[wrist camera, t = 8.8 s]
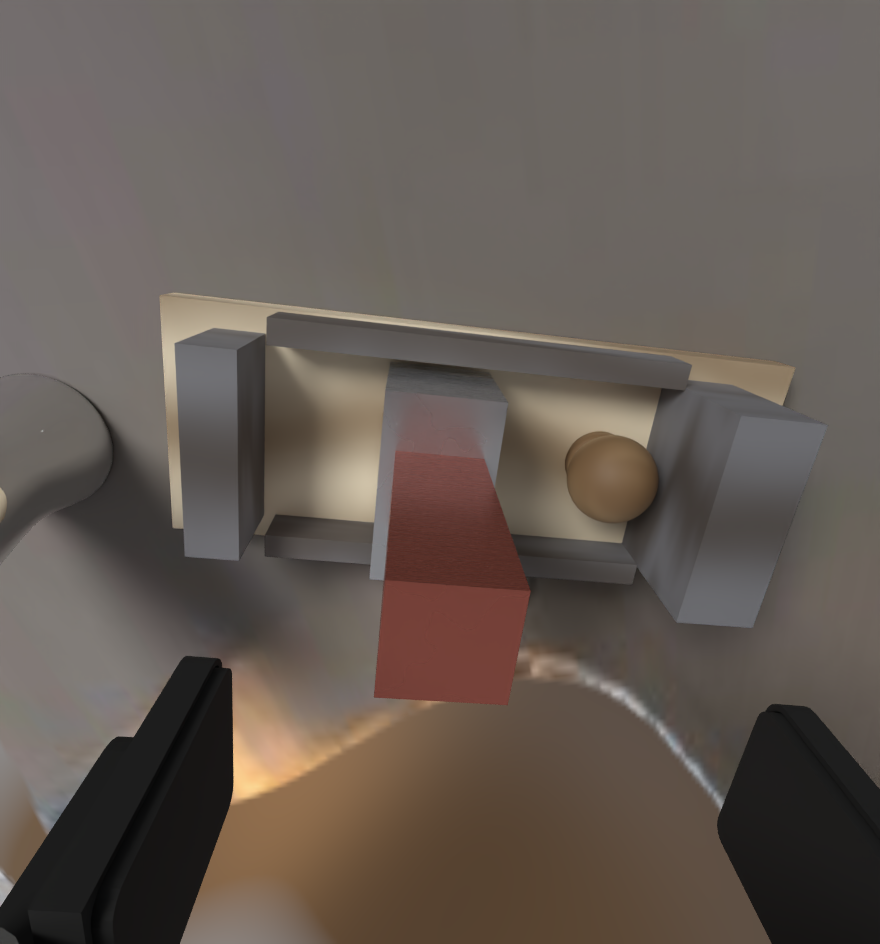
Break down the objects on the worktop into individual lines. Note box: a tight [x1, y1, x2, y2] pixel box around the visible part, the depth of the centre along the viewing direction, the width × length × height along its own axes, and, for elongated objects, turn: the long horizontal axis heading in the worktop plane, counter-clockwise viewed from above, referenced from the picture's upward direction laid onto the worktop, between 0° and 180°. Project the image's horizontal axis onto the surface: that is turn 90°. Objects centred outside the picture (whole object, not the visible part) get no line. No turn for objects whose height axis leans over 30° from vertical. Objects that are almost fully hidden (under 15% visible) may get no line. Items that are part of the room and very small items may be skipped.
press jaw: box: [369, 362, 531, 705], centre depth 18 cm, size 7×4×13 cm, turn 173°
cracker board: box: [160, 293, 828, 628], centre depth 23 cm, size 10×26×8 cm, turn 83°
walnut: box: [565, 431, 659, 523], centre depth 23 cm, size 4×4×4 cm
